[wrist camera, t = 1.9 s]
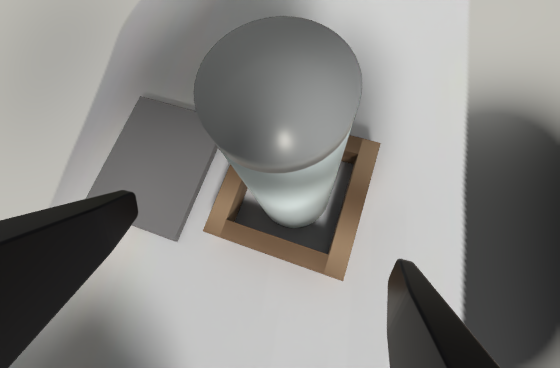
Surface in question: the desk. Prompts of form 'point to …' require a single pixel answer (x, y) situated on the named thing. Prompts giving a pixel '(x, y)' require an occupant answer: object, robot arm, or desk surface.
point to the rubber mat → (159, 165)
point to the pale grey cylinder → (281, 111)
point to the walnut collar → (327, 264)
